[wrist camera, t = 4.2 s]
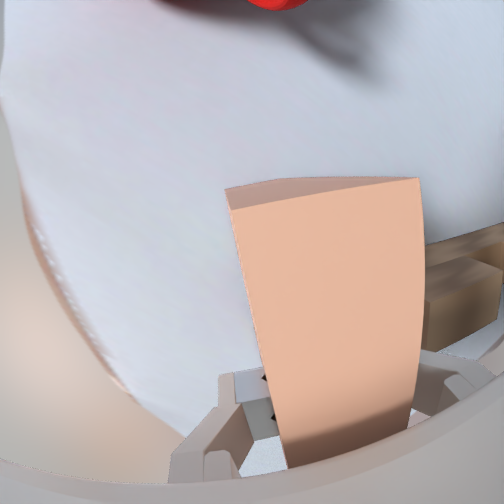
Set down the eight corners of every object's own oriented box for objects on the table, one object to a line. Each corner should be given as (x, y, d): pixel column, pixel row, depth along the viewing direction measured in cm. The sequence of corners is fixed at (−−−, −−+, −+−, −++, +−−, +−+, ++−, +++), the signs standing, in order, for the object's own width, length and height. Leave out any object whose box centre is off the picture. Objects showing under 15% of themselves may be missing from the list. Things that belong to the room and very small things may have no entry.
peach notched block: (279, 178, 16) (418, 177, 4) (308, 363, 19) (379, 514, 7) (224, 189, 16) (231, 210, 4) (264, 374, 18) (305, 538, 7)
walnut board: (506, 221, 19) (564, 236, 12) (505, 253, 19) (560, 273, 13) (363, 262, 18) (430, 302, 11) (366, 304, 19) (425, 357, 12)
